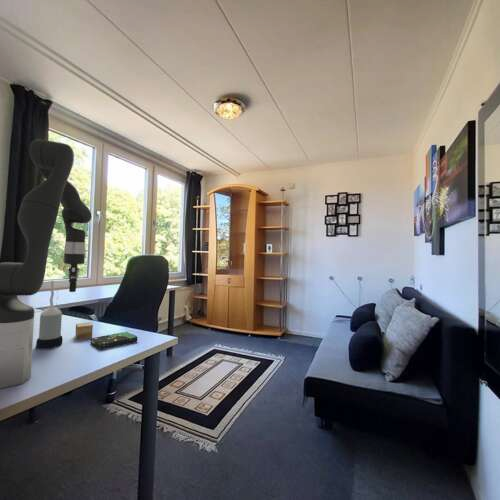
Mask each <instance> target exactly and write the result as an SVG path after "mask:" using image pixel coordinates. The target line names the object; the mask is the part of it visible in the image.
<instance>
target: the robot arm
mask: <svg viewBox="0 0 500 500" xmlns="http://www.w3.org/2000/svg"><path fill="white" fill-rule="evenodd" d="M29 156H30V159H31V161H32V163H33V165H35V167H36V169H37V170H38V171H39V172H40V174H41V175H42V176H43V178H44V179H45V180H44V181H42V182H40V183H39V184H38V185H36V186H35V187H34V188H32V189H31V190H30V191H29V192H27V194H25V195H24V196H23V198H22V201H21V204H20V206H19V210H18V213H17V224H18V226H19V228H20V231H21V232H22V234H23V236H24V239H25V241H26V242H25V243H26V245H27V246H26V255H25V258H24V261H23V262H9V261H8V262H5V261H4V262H0V389H3V388H7V387H13V386H17V385H22V384H24V383H25V382H26V381H27V380H29V379H30V378H31V374H32V356H33V340H34V339H33V337H34V325H35V322H34V320H35V308H34V307H32V306H30V305H28V304H25V303H24V302H22V301H21V300H20V299H19V298H18V296H33V295H35V294H38V292H39V291H40V290H41V288H42V286H43V285H44V279H45V276H46V270H47V269H46V268H47V261H48V257H49V256H48V255H49V249H50V243H51V241H52V236H53V232H54V228H55V225H56V223H57V218H58V215H59V211H60V206H62V210H61V218H62V221H63V224H64V229H65V244H64V247H63V248H64V249H63V250H64V251H63V264H65V265H70V267H68V268H67V272H68V277H67V278H68V283H69V287H68V288H69V290H68V291H69V293H75V292H77V291H76V290H77V282H78V278H79V273H80V268H79V265H84V264H85V261H86V231H85V229H82V228H78V227H75V225H74V224H87V223H90V221H91V220H92V213H91V210H90V208H89V207H88V206H87V204H85V202H84V201H83V200H82V199H81V196H80V193H79V191H78V190H77V188H76V186H75V185H74V184H73V183H71V181H69V177H70V175H71V172H72V169H73V166H74V162H75V152H74V149H73V147H72V146H71V145H69V144H67V143H64V142H59V141H53V140H48V139H39V138H37V139H34V140H32V141H31V143H30V145H29Z"/></svg>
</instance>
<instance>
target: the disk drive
mask: <svg viewBox="0 0 500 500" xmlns="http://www.w3.org/2000/svg"><path fill="white" fill-rule="evenodd" d="M136 341H137V342H138V335H135V334H133V333H130V332H129V331H124V332H118V333H113V334H108V335H107V334H106V335H101V336H95V337H92V338H90V344H91V345H92V346H93V347H94V348H96V350H98V351H103V350H107V349H110V348H116V347H119V346H120V347H121V346H124V345H125V344H126V345H129V343H131V344H134V343H133V342H135V343H137V342H136Z"/></svg>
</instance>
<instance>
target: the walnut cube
mask: <svg viewBox="0 0 500 500" xmlns="http://www.w3.org/2000/svg"><path fill="white" fill-rule="evenodd" d="M93 326H94V325H93V323H92V322H91V321H89V322H82V323H80V322H79V323H75V336H74V337H75V339H76V340H77V341H79V340H84V339H85V340H86V339H91V338H93V332H94V331H93V328H94V327H93Z"/></svg>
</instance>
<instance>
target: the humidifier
mask: <svg viewBox="0 0 500 500" xmlns="http://www.w3.org/2000/svg"><path fill="white" fill-rule="evenodd" d="M54 284H55V283H54V280H51V282H50V298H49V307H47V308H46V309H44V310H42V311H41V313H40V317H39V329H38V330H39V331H38V338H36V343H35V349H38V350H49V349H56V348H58V347H60V346H62V345H63V341H64V340H63V338H64V337H63V336H62V335H61V334H62V317H63V315H62V311H61V309H59V308H57V306H58V303H56V306H54V301H53V299H54V295H55V291H54ZM58 286H59V285H57V287H56V291H58V290H59V289H58V288H59V287H58ZM58 298H59V294H58V293H57V296H56V299H58Z"/></svg>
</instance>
